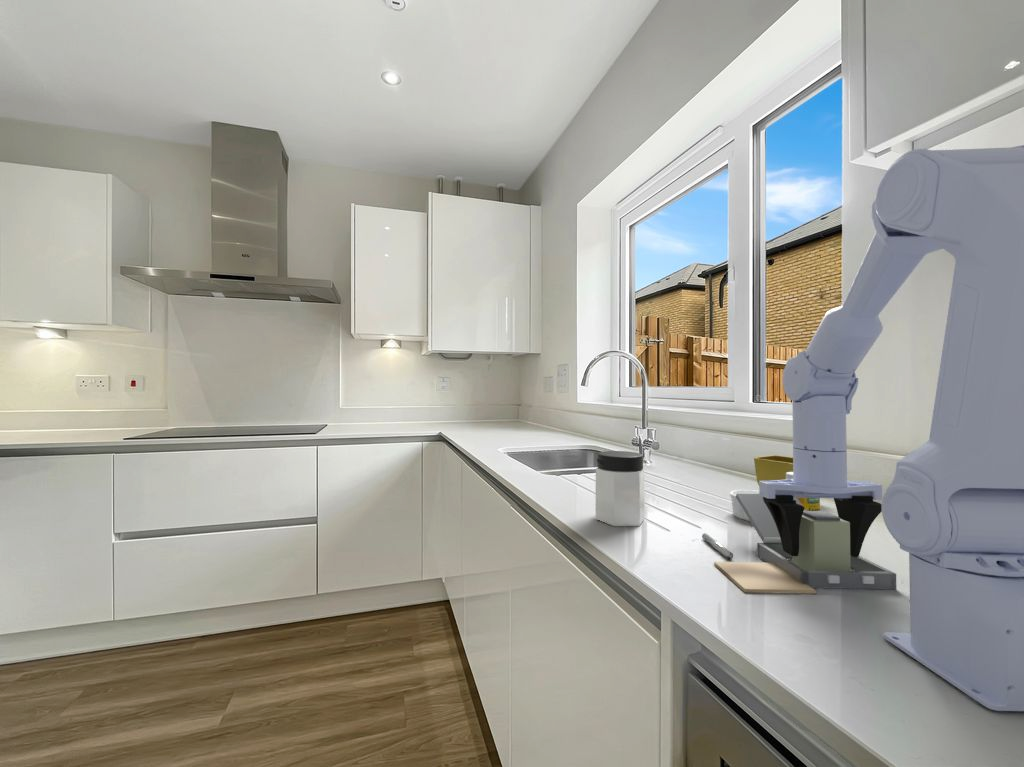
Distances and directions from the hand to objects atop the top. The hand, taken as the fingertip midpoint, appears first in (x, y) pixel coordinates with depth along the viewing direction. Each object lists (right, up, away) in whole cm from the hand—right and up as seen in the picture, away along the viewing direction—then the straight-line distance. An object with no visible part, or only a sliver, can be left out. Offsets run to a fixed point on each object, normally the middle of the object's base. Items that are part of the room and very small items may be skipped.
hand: (820, 553), depth 56 cm
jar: (-20, -3, +22) cm, 30 cm away
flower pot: (+19, -3, +37) cm, 42 cm away
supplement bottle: (+8, -3, +16) cm, 18 cm away
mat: (-9, -2, -2) cm, 10 cm away
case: (0, -2, 0) cm, 2 cm away
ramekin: (+6, -3, +24) cm, 25 cm away
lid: (0, -2, +9) cm, 9 cm away
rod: (-10, -2, +8) cm, 13 cm away
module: (0, -2, 0) cm, 2 cm away
